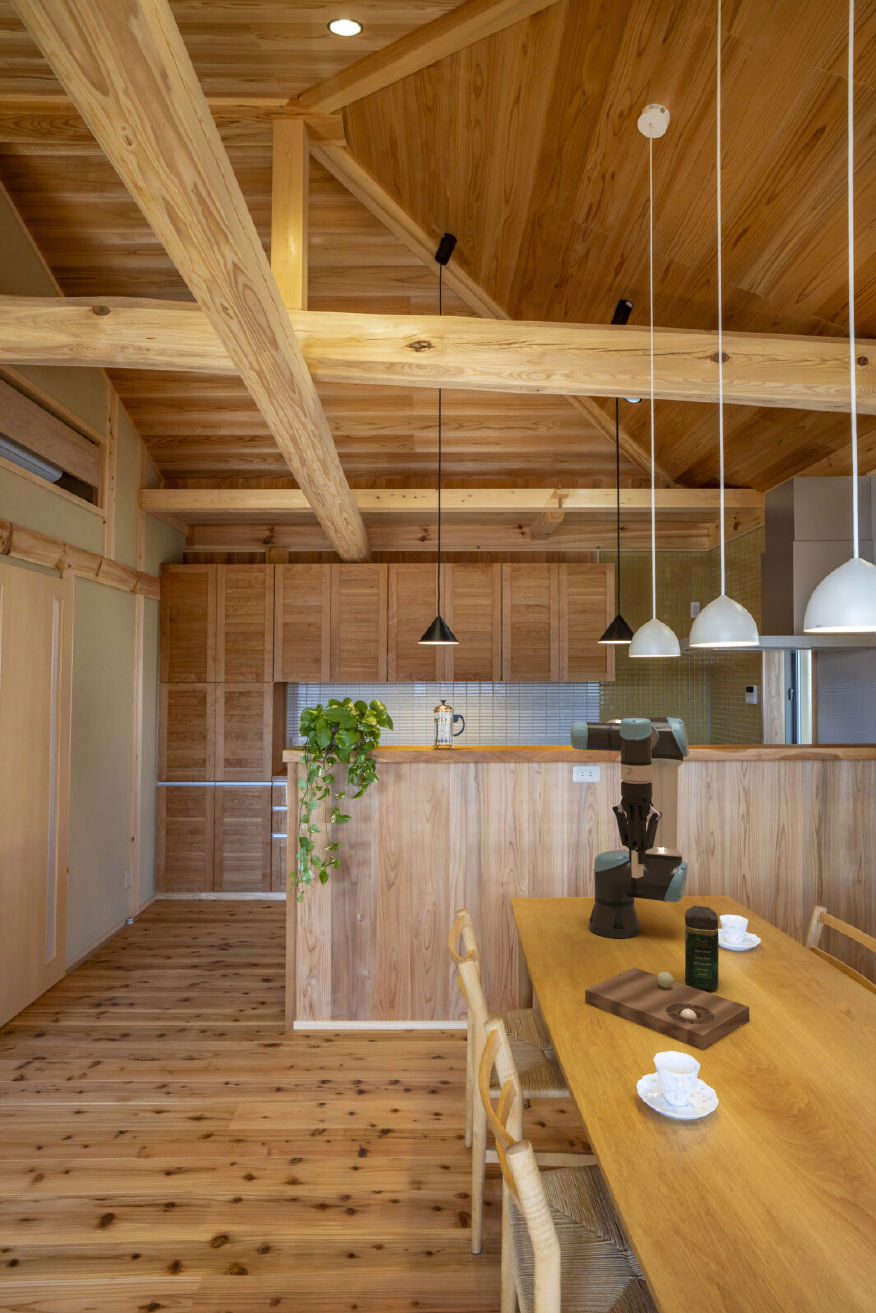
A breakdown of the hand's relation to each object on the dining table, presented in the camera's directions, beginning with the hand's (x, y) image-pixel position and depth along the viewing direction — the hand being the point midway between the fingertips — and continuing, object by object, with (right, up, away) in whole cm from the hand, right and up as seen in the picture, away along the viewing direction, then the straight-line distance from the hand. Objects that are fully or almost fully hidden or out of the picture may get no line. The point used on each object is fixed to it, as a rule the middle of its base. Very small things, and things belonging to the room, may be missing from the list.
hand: (637, 876), depth 185 cm
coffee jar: (+16, -27, +1) cm, 32 cm away
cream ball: (+6, -25, -21) cm, 33 cm away
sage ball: (+4, -22, -8) cm, 24 cm away
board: (+3, -27, -13) cm, 30 cm away
